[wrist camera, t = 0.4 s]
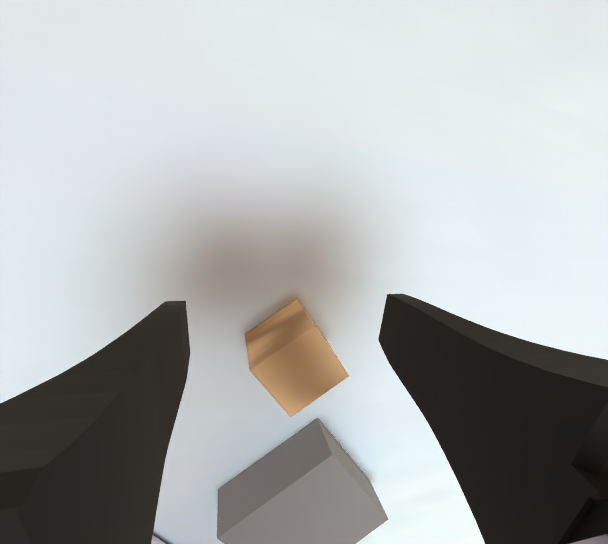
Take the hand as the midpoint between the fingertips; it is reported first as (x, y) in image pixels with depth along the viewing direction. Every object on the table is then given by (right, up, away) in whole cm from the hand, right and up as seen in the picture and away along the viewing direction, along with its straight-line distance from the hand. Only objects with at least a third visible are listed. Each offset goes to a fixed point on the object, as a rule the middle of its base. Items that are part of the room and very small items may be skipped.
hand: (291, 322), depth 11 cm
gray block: (0, -17, +17) cm, 24 cm away
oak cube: (-1, -3, +12) cm, 12 cm away
